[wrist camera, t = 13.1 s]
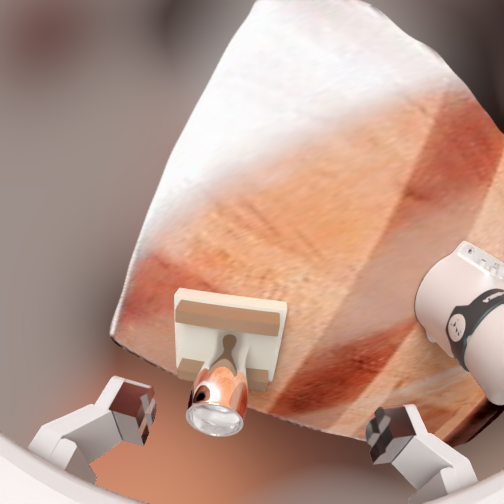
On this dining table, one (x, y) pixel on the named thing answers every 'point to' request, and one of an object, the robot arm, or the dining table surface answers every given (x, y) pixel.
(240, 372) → the beer glass
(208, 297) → the stand
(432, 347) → the dining table surface
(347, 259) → the dining table surface
